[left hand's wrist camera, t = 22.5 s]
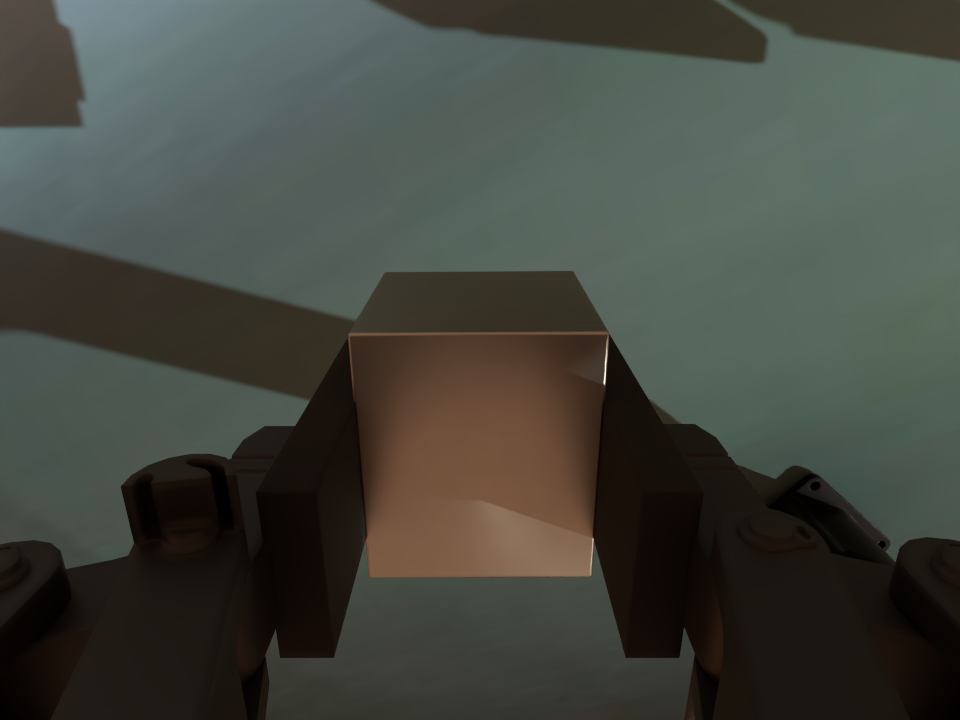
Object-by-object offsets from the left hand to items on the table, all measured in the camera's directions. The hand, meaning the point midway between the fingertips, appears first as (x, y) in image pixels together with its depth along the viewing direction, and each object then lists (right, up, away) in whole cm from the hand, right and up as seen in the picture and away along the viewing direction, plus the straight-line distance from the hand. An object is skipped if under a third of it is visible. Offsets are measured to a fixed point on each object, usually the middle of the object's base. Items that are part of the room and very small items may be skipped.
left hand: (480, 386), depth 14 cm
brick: (0, 0, 0) cm, 0 cm away
